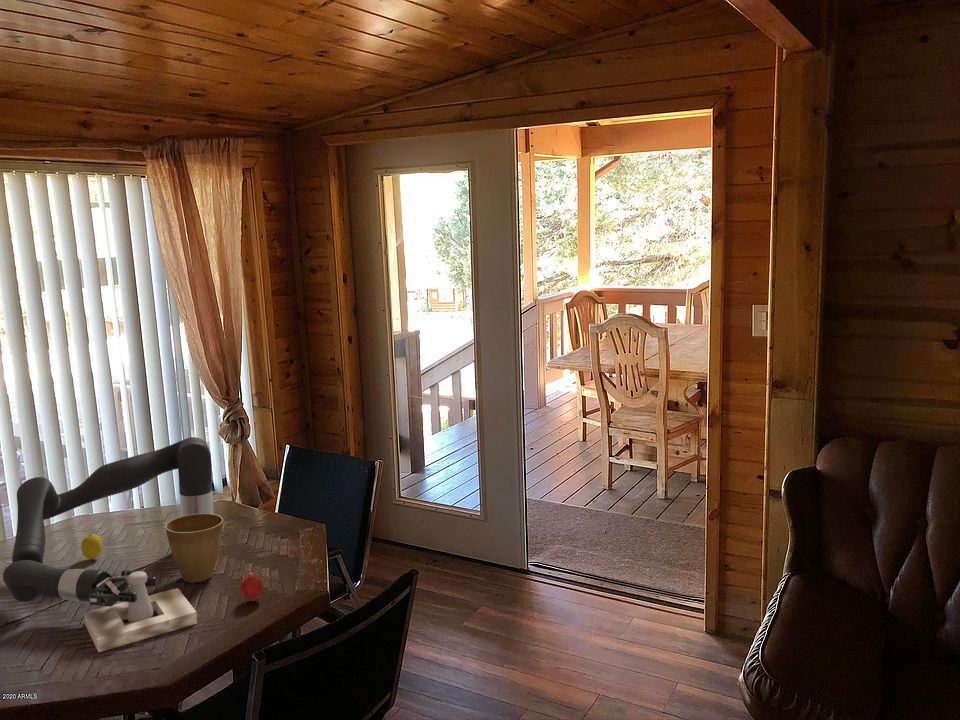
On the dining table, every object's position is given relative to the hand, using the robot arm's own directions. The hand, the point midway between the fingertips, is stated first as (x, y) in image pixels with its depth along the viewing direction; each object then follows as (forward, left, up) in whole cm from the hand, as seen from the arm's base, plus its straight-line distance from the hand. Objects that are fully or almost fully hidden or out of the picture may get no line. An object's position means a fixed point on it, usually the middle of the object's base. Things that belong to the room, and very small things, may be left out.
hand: (146, 589), depth 185 cm
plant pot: (-18, -19, -9) cm, 28 cm away
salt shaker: (+1, -1, -9) cm, 9 cm away
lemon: (+3, -49, -9) cm, 50 cm away
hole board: (+1, -1, -9) cm, 9 cm away
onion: (-25, +4, -9) cm, 26 cm away
